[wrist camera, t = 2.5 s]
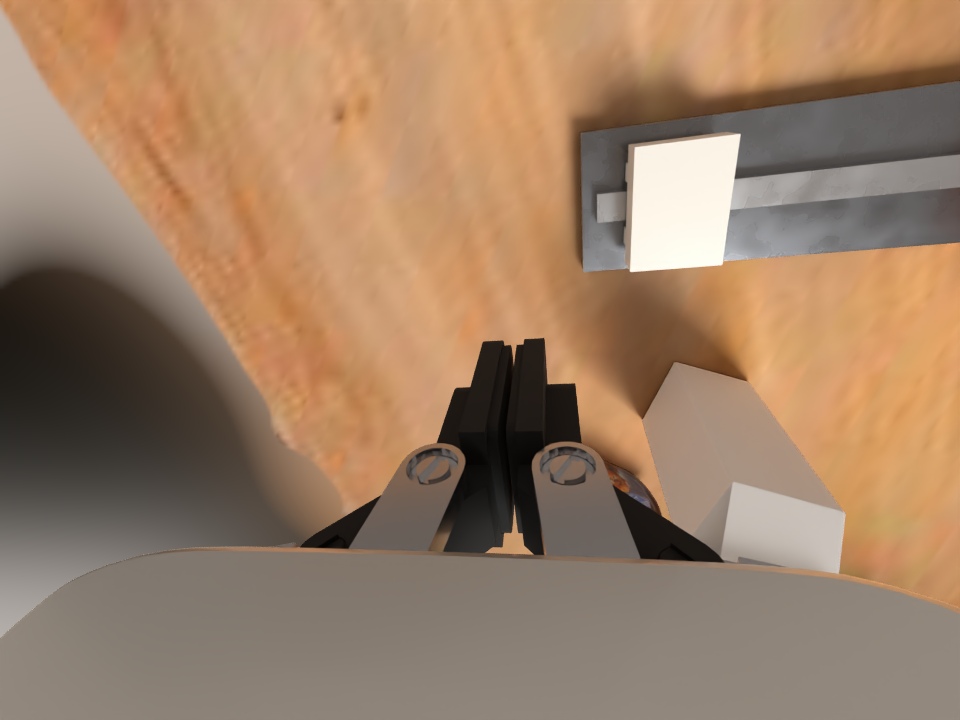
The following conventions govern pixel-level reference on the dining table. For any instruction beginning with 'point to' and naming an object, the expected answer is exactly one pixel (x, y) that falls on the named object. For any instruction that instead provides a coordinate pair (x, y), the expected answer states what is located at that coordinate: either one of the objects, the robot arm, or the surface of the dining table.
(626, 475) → the tin
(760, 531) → the milk carton
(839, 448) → the dining table surface
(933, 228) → the rail
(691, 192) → the slider
